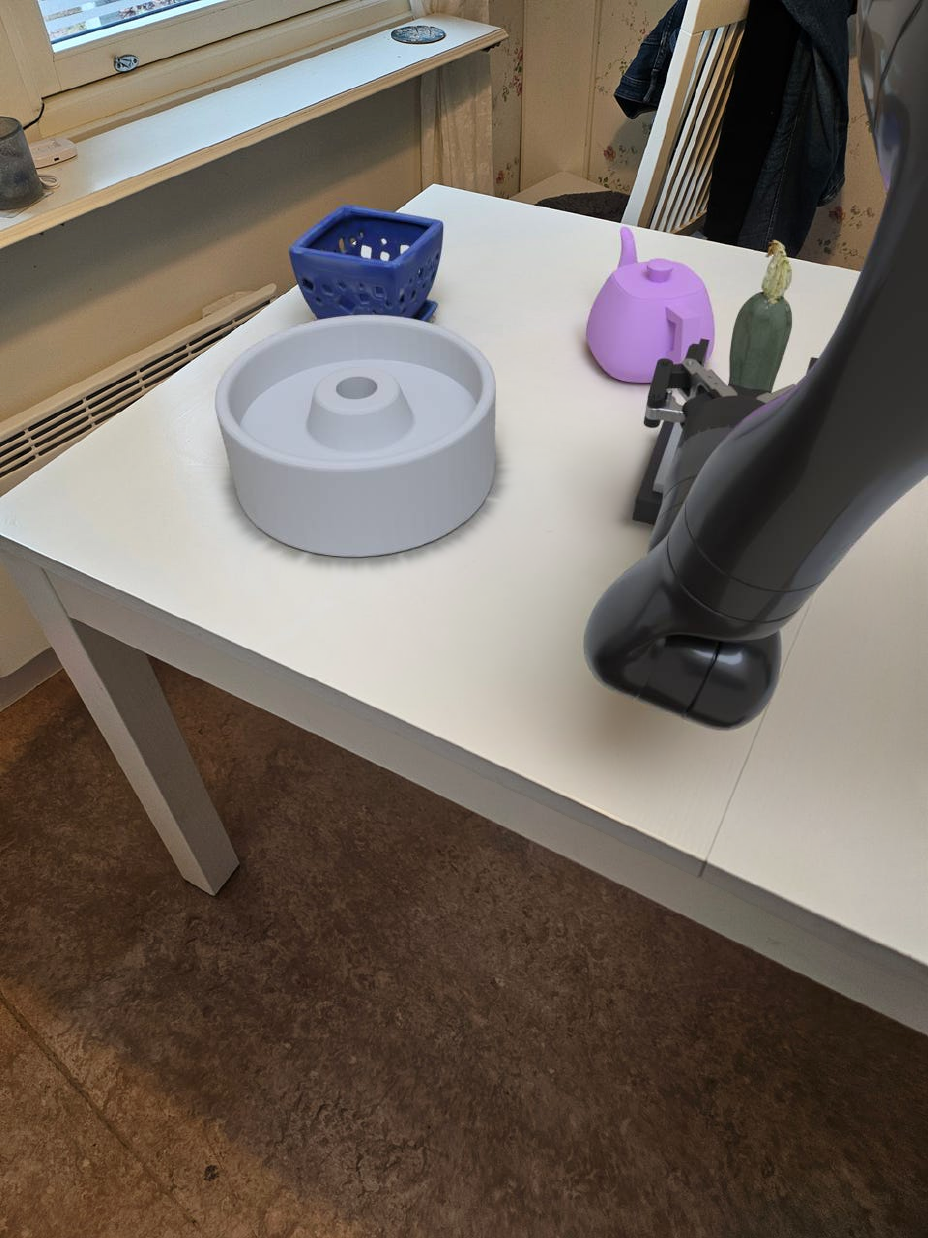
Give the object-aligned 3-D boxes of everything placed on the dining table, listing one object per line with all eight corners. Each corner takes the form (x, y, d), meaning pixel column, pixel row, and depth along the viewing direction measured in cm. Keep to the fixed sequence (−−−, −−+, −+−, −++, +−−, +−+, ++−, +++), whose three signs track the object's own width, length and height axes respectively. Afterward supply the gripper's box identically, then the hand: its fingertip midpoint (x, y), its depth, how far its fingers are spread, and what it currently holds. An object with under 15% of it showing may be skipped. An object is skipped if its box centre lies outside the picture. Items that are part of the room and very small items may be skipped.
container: (247, 407, 93) (228, 320, 85) (480, 393, 94) (480, 306, 87) (224, 568, 76) (197, 476, 68) (509, 549, 77) (512, 456, 70)
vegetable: (756, 479, 78) (820, 259, 63) (707, 479, 78) (761, 260, 63) (745, 449, 81) (804, 233, 66) (698, 449, 81) (747, 233, 66)
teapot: (662, 306, 107) (677, 214, 98) (737, 393, 93) (762, 295, 85) (559, 321, 104) (565, 228, 96) (621, 412, 91) (635, 313, 83)
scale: (803, 468, 84) (813, 438, 82) (789, 554, 76) (800, 523, 74) (660, 440, 88) (665, 410, 85) (632, 519, 80) (637, 489, 77)
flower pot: (351, 297, 109) (340, 199, 100) (449, 316, 106) (446, 216, 97) (300, 349, 101) (283, 247, 92) (404, 371, 97) (397, 266, 89)
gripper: (853, 452, 54) (866, 329, 65) (629, 410, 58) (675, 299, 68) (818, 542, 60) (835, 415, 70) (616, 498, 63) (660, 383, 74)
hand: (756, 358), depth 69 cm, fingers open, 8 cm apart
